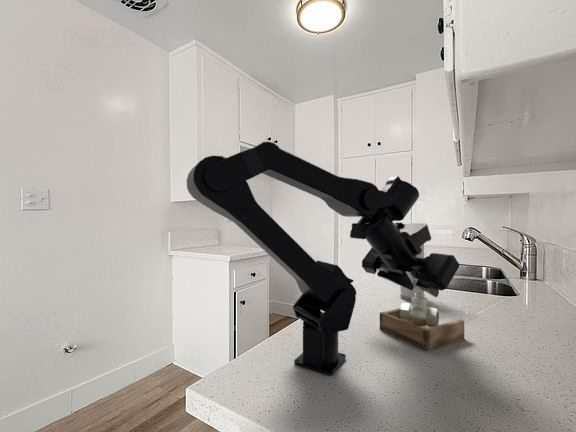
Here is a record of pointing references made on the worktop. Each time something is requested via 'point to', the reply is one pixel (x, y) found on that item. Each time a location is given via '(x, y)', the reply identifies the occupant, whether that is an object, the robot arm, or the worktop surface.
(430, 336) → the tray
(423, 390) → the worktop surface
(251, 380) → the worktop surface
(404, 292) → the travel mug
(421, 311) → the valve
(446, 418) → the worktop surface
